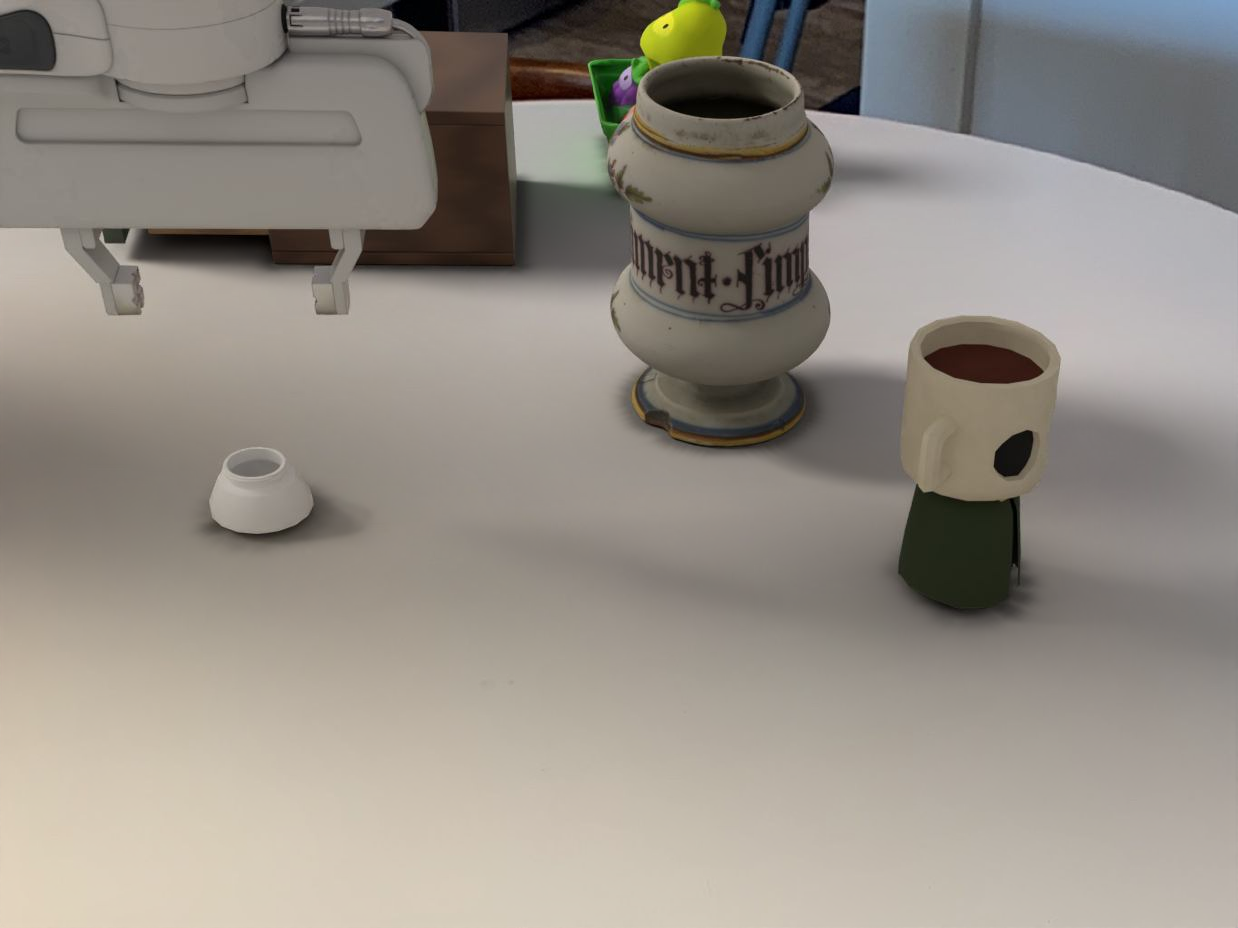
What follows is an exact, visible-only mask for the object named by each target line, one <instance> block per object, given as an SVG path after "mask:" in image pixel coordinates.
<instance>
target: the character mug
mask: <svg viewBox="0 0 1238 928" xmlns="http://www.w3.org/2000/svg"><path fill="white" fill-rule="evenodd" d="M1061 360H1062V357H1061V355H1060V352H1059V350H1058V348H1057V346H1056V344H1055V343H1054V342H1052V341H1051V340H1050V338H1048V337H1047V336H1045V334H1043V333H1042V332H1041V331H1039V330H1037V329H1034V328H1032V327H1031V326H1028V325H1025V324H1024V323H1021V322H1019V321H1017V320H1013V319H1007V318H1002V317H996V316H992V315H962V314H961V315H956V316H951V317H950V316H949V317H945V318H940V319H936V320H934V321H931V322H930V323H927V324H926V325H924V326H921V327H920V328H918V329H917V330H916V332H915V334H914V335H913V337H912V339H911V340H910V341H909V346H908V354H907V363H906V364H907V365H906V376H905V387H904V398H903V409H902V419H901V432H900V442H899V450H900V459H901V463H902V466H903V471H904V472H905V474H907V476H909V477H910V478H911V479H912V480H913V482H915V483H916V485H915V488H914V492H913V496H912V499H911V503H910V507H909V510H908V514H907V519H906V523H905V527H904V531H903V536H902V541H901V545H900V552H899V556H898V565H897V566H898V568H897V574H898V575H899V576H900V578H901V579H902V580H903V581H904V582H905V583H906V584H907V585H908V587H910V588H911V589H913V590H915V591H916V592H919V593H920V594H922V595H924V596H926V597H927V598H929V599H931V600H934V601H936V602H939V603H942V604H944V605H947V606H950V607H953V608H955V609H961V610H962V609H985V608H989V607H992V606H994V605H996V604H1000V603H1003V602H1006V601H1008V599H1009V597H1010V593H1011V579H1012V570H1013V567H1014V566H1015V568H1016V569H1017V572H1016V573H1017V574H1016V575H1017V577H1016V588H1018V587H1020V586H1021V564H1022V561H1021V560H1022V540H1021V539H1022V537H1021V535H1022V534H1021V496H1022V495H1026V494H1028V493H1030V492H1032V491H1034V489H1036V488H1037V486H1038V485H1039V483H1040V481H1041V479H1042V477H1043V474H1044V473H1045V468H1046V465H1047V462H1048V458H1049V454H1048V448H1047V447H1048V438H1049V433H1050V429H1051V425H1052V420H1053V416H1054V412H1055V407H1056V403H1057V398H1058V383H1059V377H1060V369H1061V362H1062V361H1061Z"/></svg>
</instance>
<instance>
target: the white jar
mask: <svg viewBox="0 0 1238 928" xmlns="http://www.w3.org/2000/svg"><path fill="white" fill-rule="evenodd" d="M208 503H209V508H210V512H211V517H212V519H213V520H214V521H215V522H217V524H219V525H220V526H221V527H223V528H225V529H227V530H231V531H233V532H236V533H242V534H243V533H245V534H255V535H259V534H268V533H275V532H280V531H283V530H286V529H289V528H291V527H294V526H296V525H297V524H299V523H300V522H302V521H303V520H305V519H306V518H307V517H308V516H309V515H310V513H311V511H312V509H313V507H314V506H315V505H314V498H313V495H312V490H311V487H310V486H309V485H308V484H307V483H306V482H305V480H304V479H303V477H301V475H300V473H299V472H298V471H297V470H296V468H295V467H293V466H292V465H291V464H290V463H288V461H287V459H286V457H285V455H284V454H283V453H281V452H280V451H279V450H277V449H274V448H271V447H266V446H265V447H264V446H252V447H251V446H250V447H246V448H242V449H238V450H236V451H234V452H232V453H230V454H229V455H228V456H226V457H225V459H224V460H223V463H222V469H221V471H220V473H219V475H218V476H217V479H216V481H215V484H214V486H213V489H212V492H211V494H210V496H209V500H208Z"/></svg>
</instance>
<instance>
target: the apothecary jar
mask: <svg viewBox="0 0 1238 928" xmlns="http://www.w3.org/2000/svg"><path fill="white" fill-rule="evenodd" d="M834 159H835V158H834V154H833V151H832V148H831V145H830V142H829V141H828V139H827V138H826V135H825V134H824V132H822V130H821V129H820V128H819V127H818V126H817V125H816V123H814V122H813V121H812V120H811V119H809V117H808V116H807V113H806V110H805V93H804V89H803V87H802V84H801V83H800V81H799V80H798V79H797V78H796V77H795V76H794V75H793V74H792V73H791V72H790V71H787V70H785V69H784V68H781V67H779V66H777V65H774V64H771V63H769V62H766V61H762V60H759V59H753V58H749V57H748V58H747V57H741V56H730V55H729V56H728V55H722V56H703V57H692V58H685V59H679V60H675V61H671V62H668V63H664V64H662V65H659V66H657V67H655V68H654V69H652V70H650V71H649V72H648V73H647V74H645V76H644V77H643V78H642V79H641V81H640V83H639V86H638V90H637V97H636V104H635V107H634V110H633V112H632V113H631V114H630V115H629V116H627V117H626V118H625V119H624V120H623V121H622V122H621V124H620V125H619V126H618V127H617V129H616V130H615V132H614V133H613V135H612V137H611V140H610V142H609V144H608V145H607V150H606V170H607V173H608V177H609V179H610V181H611V184H612V185H613V187H614V188H615V190H616V192H617V193H618V195H620V196H621V198H622V199H623V200H624V201H625V202H626V203H627V204H629V213H630V214H629V215H630V255H631V257H630V260H631V261H630V263H629V264H628V265H627V266H625V268H624V269H623V271H622V272H621V274H620V275H619V277H618V278H617V280H616V282H615V284H614V286H613V288H612V292H611V296H610V301H609V302H610V303H609V307H610V308H609V310H610V317H611V322H612V325H613V327H614V331H615V332H616V334H617V336H618V338H619V340H620V341H621V342H622V343H623V345H624V346H625V347H626V348H627V349H628V351H630V352H631V354H633V355H634V356H635V357H636V358H637V359H639V360H640V361H641V362H642V363H644V364H645V365H646V366H648V368H646V369H645V370H644V371H642V372H641V374H640V375H639V376H638V377H637V379H636V380H635V381H634V384H633V387H632V391H631V403H632V406H633V408H634V410H635V412H636V414H637V415H638V416H639V418H640V419H641V420H642V421H643V422H645V423H647V424H649V425H653V426H657V427H662V428H663V429H665V430H666V431H667V433H668V436H669V437H671V438H673V439H676V440H679V441H682V442H685V443H690V444H695V445H700V446H707V447H739V446H746V445H747V446H748V445H754V444H759V443H763V442H766V441H769V440H772V439H775V438H778V437H779V436H781V435H783V434H785V433H786V432H788V431H790V430H791V429H792V428H793V427H795V425H797V423H799V421H800V420H801V418H802V417H803V415H804V412H805V409H806V397H805V396H806V395H805V392H804V389H803V387H802V386H801V384H800V383H799V381H798V380H797V379H796V378H795V377H794V376H793V375H791V373H789V372H790V371H791V370H794V369H795V368H797V367H798V366H800V365H802V364H804V362H805V361H807V360H808V359H809V358H810V357H812V355H813V354H814V353H815V352H817V350H818V349H819V347H820V346H821V345H822V343H823V341H824V340H825V338H826V336H827V333H828V332H829V328H830V325H831V317H832V316H831V315H832V314H831V304H830V300H829V296H828V292H827V291H826V288H825V287H824V285H823V283H822V281H821V280H820V279H819V277H818V276H817V274H816V273H815V272H814V271H813V270H812V268H811V267H810V254H809V253H810V212H811V211H812V210H813V209H815V208H816V207H817V206H818V205H819V204H820V203H821V202H822V201H823V199H824V198H825V197H826V195H827V193H828V192H829V190H830V188H831V185H832V182H833V178H834V174H835V173H834V172H835V160H834Z"/></svg>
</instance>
